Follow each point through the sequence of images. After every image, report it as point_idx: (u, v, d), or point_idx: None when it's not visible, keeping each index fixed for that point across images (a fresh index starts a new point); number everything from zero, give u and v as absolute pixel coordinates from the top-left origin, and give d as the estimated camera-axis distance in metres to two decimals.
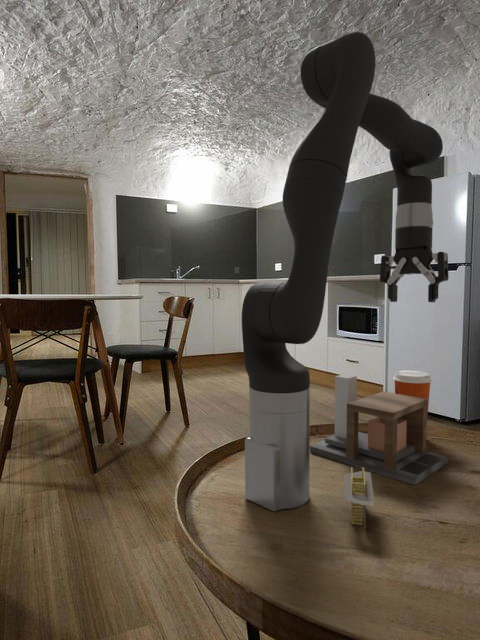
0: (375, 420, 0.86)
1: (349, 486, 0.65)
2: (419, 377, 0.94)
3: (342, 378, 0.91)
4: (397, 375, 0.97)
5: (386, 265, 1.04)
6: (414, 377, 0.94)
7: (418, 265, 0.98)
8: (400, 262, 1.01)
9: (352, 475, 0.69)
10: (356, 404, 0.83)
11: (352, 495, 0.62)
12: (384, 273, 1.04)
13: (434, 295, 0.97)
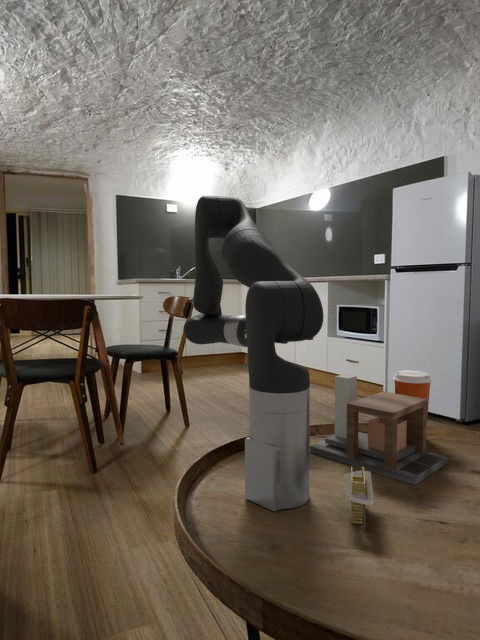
0: (375, 420, 0.86)
1: (349, 485, 0.65)
2: (419, 377, 0.94)
3: (342, 378, 0.91)
4: (397, 375, 0.97)
5: None
6: (414, 377, 0.94)
7: None
8: None
9: (352, 474, 0.69)
10: (356, 404, 0.83)
11: (352, 494, 0.63)
12: None
13: None
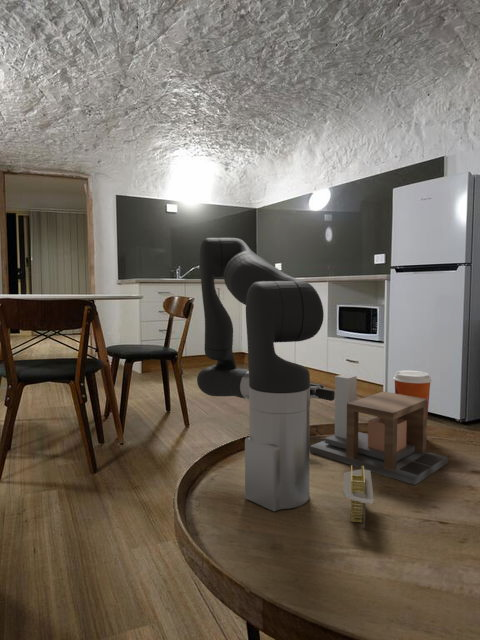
0: (375, 420, 0.86)
1: (349, 484, 0.66)
2: (419, 377, 0.94)
3: (342, 378, 0.91)
4: (397, 375, 0.97)
5: None
6: (414, 377, 0.94)
7: None
8: None
9: (352, 473, 0.69)
10: (356, 404, 0.83)
11: (352, 493, 0.63)
12: None
13: None
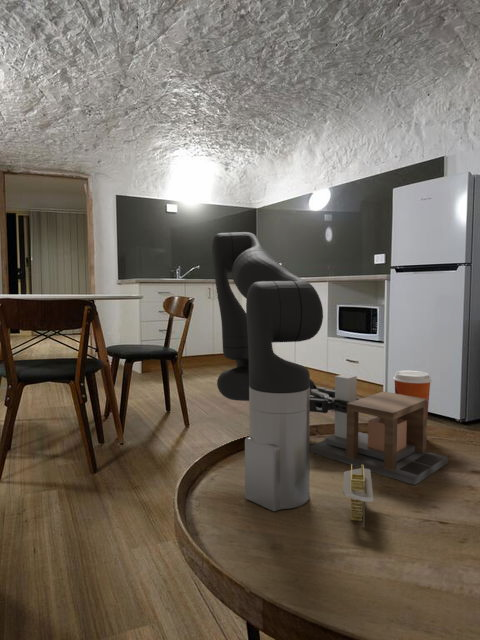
0: (375, 420, 0.86)
1: (349, 483, 0.66)
2: (419, 377, 0.94)
3: (342, 378, 0.91)
4: (397, 375, 0.97)
5: None
6: (414, 377, 0.94)
7: (326, 390, 0.97)
8: (314, 390, 0.96)
9: (352, 472, 0.70)
10: (356, 404, 0.83)
11: (352, 491, 0.63)
12: (318, 399, 0.92)
13: None
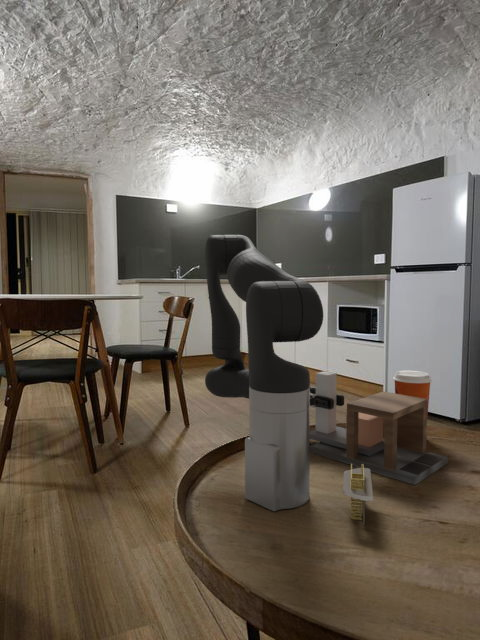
0: None
1: (349, 482, 0.66)
2: (419, 377, 0.94)
3: (322, 375, 0.94)
4: (397, 375, 0.97)
5: None
6: (414, 377, 0.94)
7: None
8: None
9: (352, 471, 0.70)
10: (356, 404, 0.83)
11: (352, 490, 0.64)
12: None
13: None
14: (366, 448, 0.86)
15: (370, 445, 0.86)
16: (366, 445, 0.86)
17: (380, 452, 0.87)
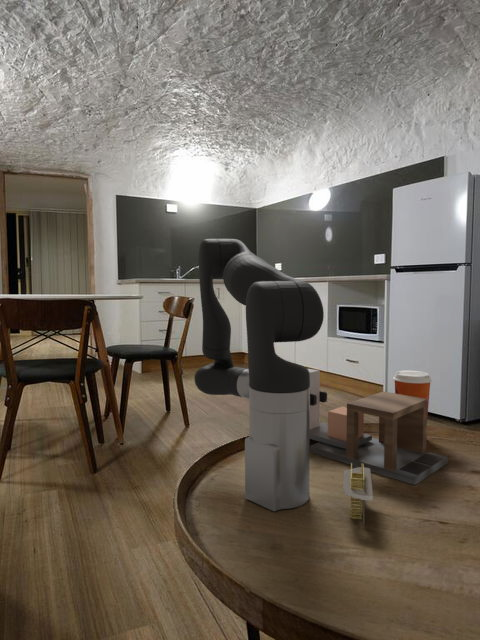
0: (334, 411, 0.92)
1: (349, 481, 0.67)
2: (419, 377, 0.94)
3: None
4: (397, 375, 0.97)
5: None
6: (414, 377, 0.94)
7: None
8: None
9: (352, 471, 0.70)
10: (356, 404, 0.83)
11: (352, 490, 0.64)
12: None
13: None
14: (346, 442, 0.89)
15: None
16: (346, 440, 0.90)
17: (380, 452, 0.87)
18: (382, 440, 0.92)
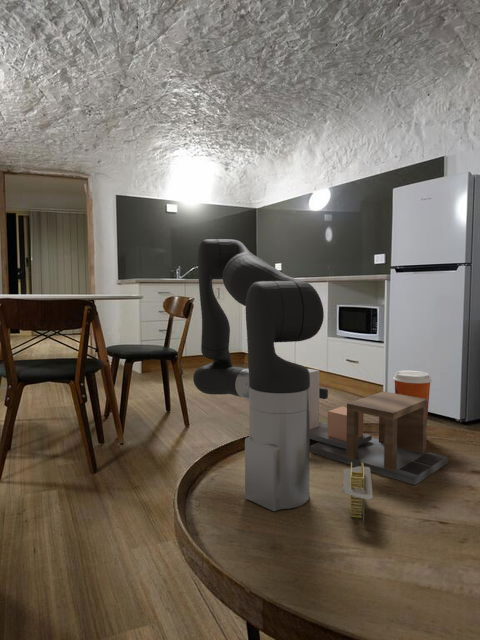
0: (334, 411, 0.92)
1: (349, 480, 0.67)
2: (419, 377, 0.94)
3: None
4: (397, 375, 0.97)
5: None
6: (414, 377, 0.94)
7: None
8: None
9: (352, 470, 0.71)
10: (356, 404, 0.83)
11: (351, 489, 0.64)
12: None
13: None
14: (346, 442, 0.89)
15: None
16: (346, 440, 0.90)
17: (380, 452, 0.87)
18: (382, 440, 0.92)
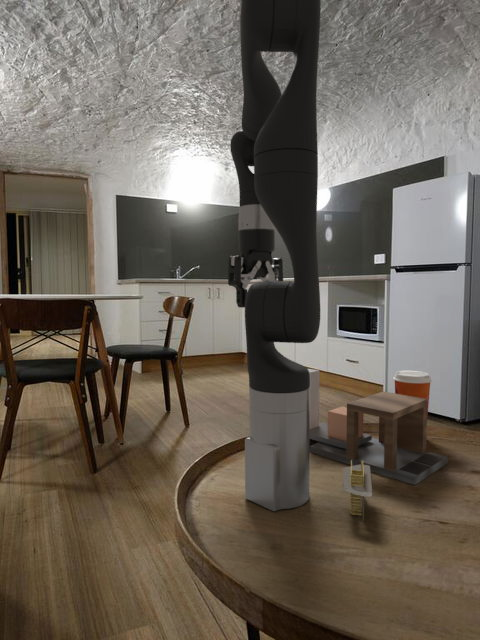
0: (334, 411, 0.92)
1: (348, 478, 0.68)
2: (419, 377, 0.94)
3: None
4: (397, 375, 0.97)
5: None
6: (414, 377, 0.94)
7: (269, 269, 0.98)
8: (257, 265, 0.95)
9: (352, 468, 0.71)
10: (356, 404, 0.83)
11: (351, 486, 0.65)
12: (239, 276, 0.93)
13: None
14: (346, 442, 0.89)
15: None
16: (346, 440, 0.90)
17: (380, 452, 0.87)
18: (382, 440, 0.92)
